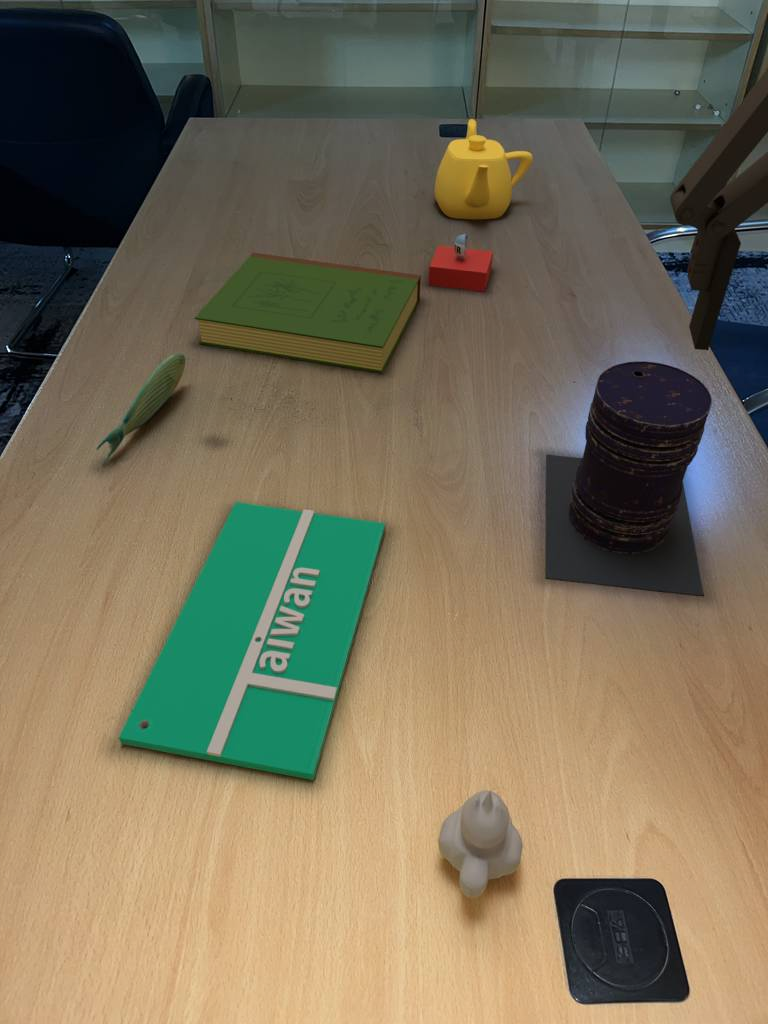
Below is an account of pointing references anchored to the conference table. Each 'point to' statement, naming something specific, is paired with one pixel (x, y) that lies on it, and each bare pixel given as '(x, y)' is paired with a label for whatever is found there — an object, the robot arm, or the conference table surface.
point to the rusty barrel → (637, 454)
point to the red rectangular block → (460, 266)
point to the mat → (590, 564)
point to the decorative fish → (148, 399)
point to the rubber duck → (480, 842)
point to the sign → (261, 642)
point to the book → (311, 311)
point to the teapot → (477, 177)
